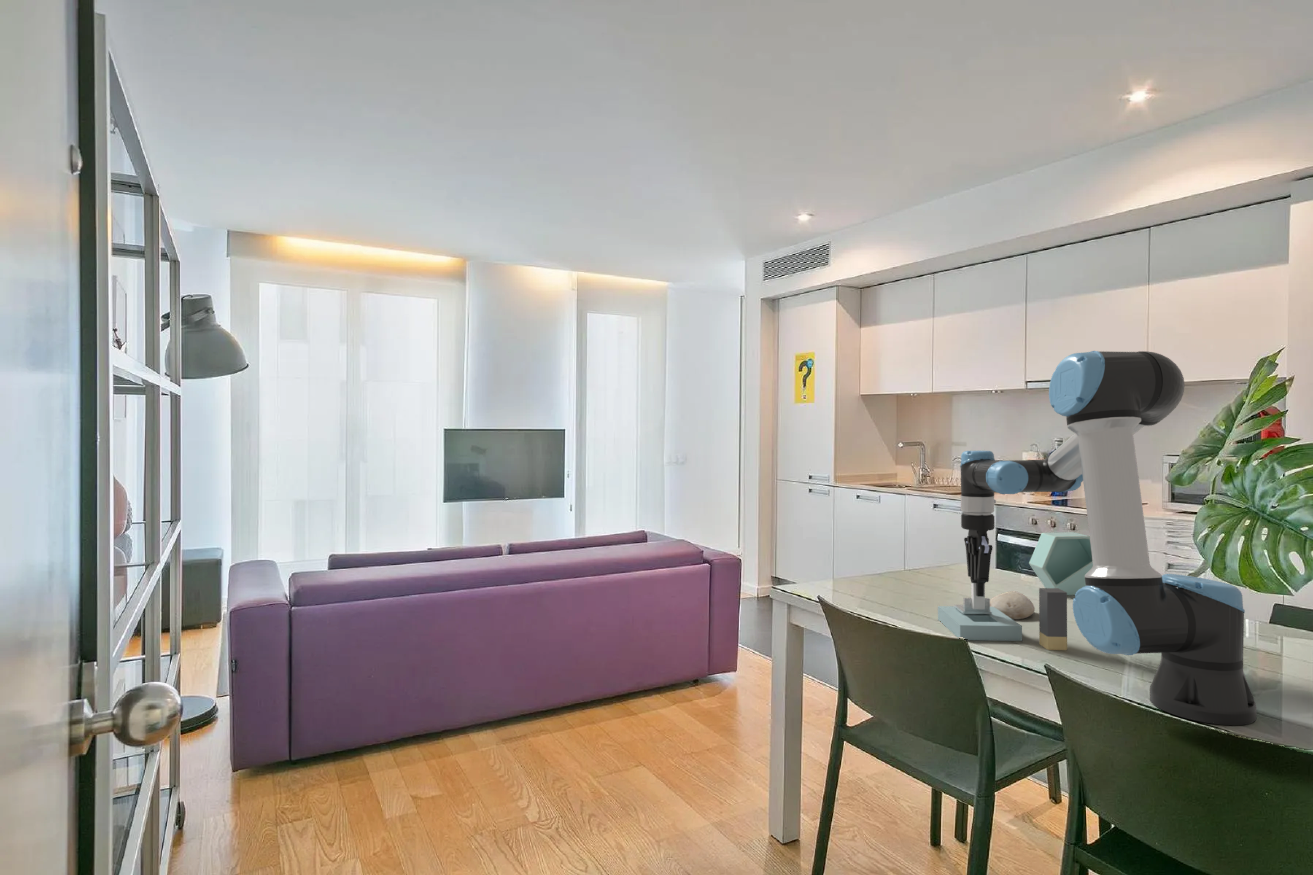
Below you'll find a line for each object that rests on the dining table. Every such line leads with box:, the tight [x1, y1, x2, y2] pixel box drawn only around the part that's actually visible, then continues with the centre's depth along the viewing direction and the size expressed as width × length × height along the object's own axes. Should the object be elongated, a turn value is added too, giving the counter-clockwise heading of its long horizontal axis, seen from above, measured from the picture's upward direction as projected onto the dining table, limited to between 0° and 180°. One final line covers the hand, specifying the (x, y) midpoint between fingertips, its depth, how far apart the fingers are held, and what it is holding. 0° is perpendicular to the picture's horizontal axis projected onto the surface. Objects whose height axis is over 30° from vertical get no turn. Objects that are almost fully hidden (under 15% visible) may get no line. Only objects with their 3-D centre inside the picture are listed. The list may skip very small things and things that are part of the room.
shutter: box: [953, 597, 992, 614], centre depth 182 cm, size 7×7×4 cm
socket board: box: [937, 605, 1023, 642], centre depth 178 cm, size 18×14×4 cm
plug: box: [1038, 587, 1068, 651], centre depth 164 cm, size 4×4×13 cm
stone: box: [989, 590, 1036, 621], centre depth 192 cm, size 13×10×8 cm
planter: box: [1028, 531, 1093, 596], centre depth 216 cm, size 17×8×21 cm
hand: (978, 608), depth 178 cm, fingers closed
